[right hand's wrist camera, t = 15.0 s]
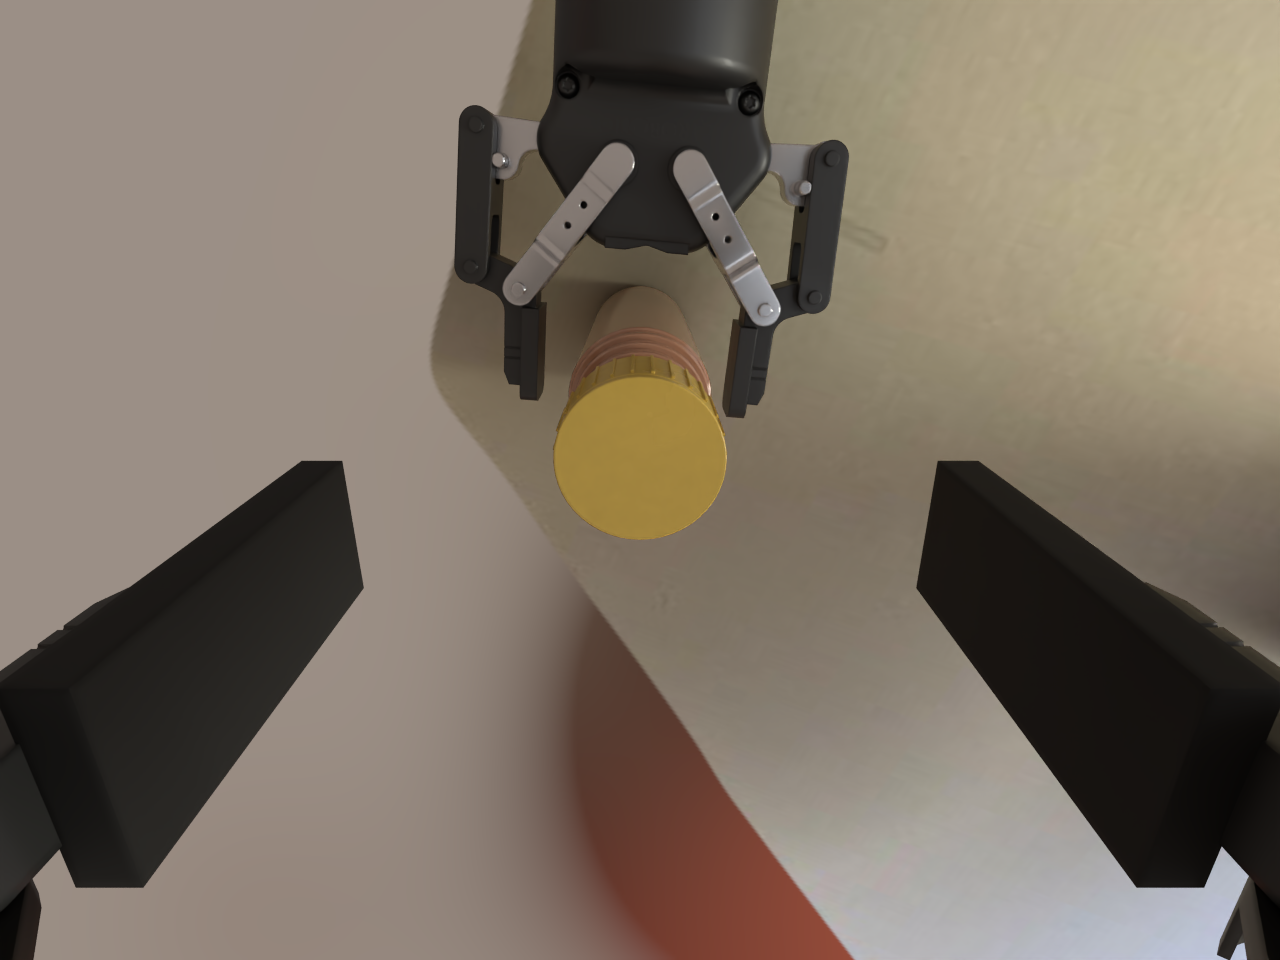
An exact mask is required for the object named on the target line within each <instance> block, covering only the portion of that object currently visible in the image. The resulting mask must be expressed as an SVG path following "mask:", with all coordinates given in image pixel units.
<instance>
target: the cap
mask: <svg viewBox="0 0 1280 960" xmlns="http://www.w3.org/2000/svg"><path fill="white" fill-rule="evenodd" d="M556 431H557V432H558V433H557V437H556V440H555V444H554V446H553V450H554V470H555V476H556V479H557V483H558V485H559V488H560V490H561V492H562V494H563V496H564V498H565V499H566V501H567V503H568V504H569V505H570V506H571V508H572V509H573V510H574V511H575V512H576V513H577V514H578V515H579V516H580V517H581V518H582V519H583V520H585V521H586V522H587V523H588V524H590V525H591V526H593V527H595V528H597V529H598V530H600V531H603V532H605V533H607V534H610V535H613V536H617V537H620V538H626V539H637V540H644V539H654V538H659V537H664V536H667V535H670V534H673V533H675V532H677V531H680V530H682V529H684V528H685V527H687V526H689V525H690V524H692V523H693V522H694V521H696V520H697V519H698V518H699V517H700V516H701V515H702V514H703V513H704V512H705V511H706V510H707V509H708V508H709V507H710V505H711V504H712V503H713V501H714V500H715V498H716V496H717V494H718V493H719V490H720V488H721V485H722V483H723V480H724V476H725V471H726V462H727V456H726V455H727V451H726V446H725V440H724V437H723V436H725V433H724V430H723V427H722V425H721V422H720V420H719V416H718V414H717V411H716V408H715V406H714V403H713V401H712V398H711V396H710V395H709V396H708V395H707V393H706V392H705V390H704V388H703V385H702V383H701V381H700V380H699V381H697V380H696V379H695V378H694V377H693V376H692V375H691V374H689V372H688V369H686V368H685V370H684V369H683V368H681V367H679V366H678V365H676V364H674V363H672V361H671V360H668V361H666V360H663V359H660V358H655V357H654V356H653V355H650V356H635V355H634V354H633V355H631V357H625V358H620V359H617V360H616V358H614V359H613V361H611V362H608V363H606V364H605V365H603V366H601V367H599V366H597V367H596V369H595V371H593V372H592V373H590V374H589V375H588V376H587V377H586V378H585V377H583V378H582V380H581V383H580V385H579V386H578V387H577V389H576V390H575V392H573V391H572V392H571V395H570V397H569V400H568V402H567V405H566V408H564V411H563V413H562V416H561V418H560V421H559V424H558V426H557V429H556Z"/></svg>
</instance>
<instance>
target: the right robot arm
mask: <svg viewBox="0 0 1280 960" xmlns="http://www.w3.org/2000/svg"><path fill="white" fill-rule="evenodd" d="M363 588H364V587H363V581H362V575H361V569H360V563H359V558H358V552H357V546H356V540H355V534H354V528H353V522H352V516H351V510H350V504H349V498H348V493H347V486H346V481H345V475H344V469H343V463H342V461H301V462H300V463H298V464H297V465H296V466H294V467H293V468H291V469H290V470H289V471H287V472H286V473H285V474H283V475H282V476H281V477H279V478H278V479H276V480H275V481H274V482H272V483H271V484H270V485H268V486H267V487H266V488H264V489H263V490H261V491H260V492H259V493H257V494H256V495H255V496H253V497H252V498H251V499H249V500H248V501H247V502H245V503H244V504H242V505H241V506H240V507H238V508H237V509H236V510H234V511H233V512H232V513H230V514H229V515H227V516H226V517H225V518H223V519H222V520H221V521H219V522H218V523H217V524H215V525H214V526H212V527H211V528H210V529H208V530H207V531H206V532H204V533H203V534H202V535H200V536H199V537H198V538H196V539H195V540H193V541H192V542H191V543H189V544H188V545H187V546H185V547H184V548H182V549H181V550H180V551H178V552H177V553H176V554H174V555H173V556H172V557H170V558H169V559H168V560H166V561H165V562H163V563H162V564H161V565H159V566H158V567H157V568H155V569H154V570H153V571H151V572H150V573H149V574H147V575H146V576H144V577H143V578H142V579H140V580H139V581H138V582H136V583H135V584H133V585H132V586H131V587H129V588H127V589H125V590H123V591H121V592H118V593H116V594H114V595H112V596H110V597H108V598H105V599H103V600H101V601H99V602H97V603H95V604H93V605H92V606H90V607H89V608H88V609H86V610H85V611H83V612H82V613H81V614H79V615H78V616H76V617H75V618H74V619H72V620H71V621H70V622H68V623H67V624H65V625H64V629H63V630H57V631H56V632H54V633H53V634H51V635H50V636H49V637H47V638H46V639H45V640H43V641H42V642H40V643H39V644H38V648H37V649H31V650H29V651H28V652H26V653H25V654H24V655H22V656H21V657H19V658H18V659H17V660H15V661H14V662H12V663H11V664H10V665H8V666H7V667H5V668H4V669H3V670H1V671H0V960H33V958H34V952H35V946H36V939H37V933H38V926H39V920H40V914H41V903H40V898H39V893H38V890H37V888H36V886H35V884H34V882H33V877H34V876H35V875H36V874H37V873H38V872H39V871H40V870H41V869H42V868H43V866H44V865H45V864H46V863H47V862H48V861H49V860H50V859H51V858H52V857H53V856H54V854H55V853H56V852H57V851H58V850H59V849H60V851H61V854H62V856H63V858H64V861H65V863H66V865H67V868H68V870H69V872H70V875H71V877H72V880H73V882H74V884H75V887H76V888H143V887H144V886H145V885H146V883H147V882H148V880H149V879H150V878H151V876H152V875H153V874H154V872H155V871H156V870H157V868H158V867H159V866H160V864H161V863H162V862H163V860H164V859H165V857H166V856H167V855H168V853H169V852H170V851H171V849H172V848H173V846H174V845H175V844H176V842H177V841H178V840H179V838H180V837H181V836H182V834H183V833H184V832H185V830H186V829H187V828H188V826H189V825H190V823H191V822H192V821H193V819H194V818H195V817H196V815H197V814H198V813H199V811H200V810H201V808H202V807H203V806H204V804H205V803H206V802H207V800H208V799H209V798H210V796H211V795H212V794H213V792H214V791H215V789H216V788H217V787H218V785H219V784H220V783H221V781H222V780H223V779H224V777H225V776H226V775H227V773H228V772H229V770H230V769H231V768H232V766H233V765H234V764H235V762H236V761H237V760H238V758H239V757H240V755H241V754H242V753H243V751H244V750H245V749H246V747H247V746H248V745H249V743H250V742H251V741H252V739H253V738H254V736H255V735H256V734H257V732H258V731H259V730H260V728H261V727H262V726H263V724H264V723H265V722H266V720H267V719H268V717H269V716H270V715H271V713H272V712H273V711H274V709H275V708H276V707H277V705H278V704H279V702H280V701H281V700H282V698H283V697H284V696H285V694H286V693H287V691H288V690H289V689H290V688H291V686H292V685H293V683H294V682H295V681H296V679H297V678H298V677H299V675H300V674H301V673H302V671H303V670H304V668H305V667H306V666H307V664H308V663H309V662H310V660H311V659H312V658H313V656H314V655H315V653H316V652H317V651H318V649H319V648H320V647H321V645H322V644H323V643H324V641H325V640H326V639H327V637H328V636H329V634H330V633H331V632H332V630H333V629H334V628H335V626H336V625H337V624H338V622H339V621H340V619H341V618H342V617H343V615H344V614H345V613H346V611H347V610H348V609H349V607H350V606H351V605H352V603H353V602H354V601H355V599H356V598H357V596H358V595H359V594H360V592H361V591H362V590H363ZM916 588H917V590H918V591H919V592H920V594H921V595H922V596H923V598H924V599H925V601H926V602H927V603H928V605H929V606H930V607H931V609H932V610H933V611H934V613H935V614H936V615H937V617H938V618H939V620H940V621H941V622H942V624H943V625H944V626H945V628H946V629H947V630H948V632H949V633H950V635H951V636H952V637H953V639H954V640H955V641H956V643H957V644H958V645H959V647H960V648H961V649H962V651H963V652H964V654H965V655H966V656H967V658H968V659H969V660H970V662H971V663H972V664H973V666H974V667H975V668H976V670H977V671H978V673H979V674H980V675H981V677H982V678H983V679H984V681H985V682H986V683H987V685H988V686H989V688H990V689H991V690H992V692H993V693H994V694H995V696H996V697H997V698H998V700H999V701H1000V702H1001V704H1002V705H1003V707H1004V708H1005V709H1006V711H1007V712H1008V713H1009V715H1010V716H1011V717H1012V719H1013V720H1014V722H1015V723H1016V724H1017V726H1018V727H1019V728H1020V730H1021V731H1022V732H1023V734H1024V735H1025V736H1026V738H1027V739H1028V741H1029V742H1030V743H1031V745H1032V746H1033V747H1034V749H1035V750H1036V751H1037V753H1038V754H1039V755H1040V757H1041V758H1042V760H1043V761H1044V762H1045V764H1046V765H1047V766H1048V768H1049V769H1050V770H1051V772H1052V773H1053V775H1054V776H1055V777H1056V779H1057V780H1058V781H1059V783H1060V784H1061V785H1062V787H1063V788H1064V789H1065V791H1066V792H1067V794H1068V795H1069V796H1070V798H1071V799H1072V800H1073V802H1074V803H1075V804H1076V806H1077V807H1078V808H1079V810H1080V811H1081V813H1082V814H1083V815H1084V817H1085V818H1086V819H1087V821H1088V822H1089V823H1090V825H1091V826H1092V828H1093V829H1094V830H1095V832H1096V833H1097V834H1098V836H1099V837H1100V838H1101V840H1102V841H1103V842H1104V844H1105V845H1106V847H1107V848H1108V849H1109V851H1110V852H1111V853H1112V855H1113V856H1114V857H1115V859H1116V860H1117V862H1118V863H1119V864H1120V866H1121V867H1122V868H1123V870H1124V871H1125V872H1126V874H1127V875H1128V876H1129V878H1130V879H1131V881H1132V882H1133V883H1134V885H1135V886H1136V887H1137V888H1204V887H1205V884H1206V882H1207V880H1208V877H1209V875H1210V873H1211V870H1212V868H1213V865H1214V863H1215V861H1216V858H1217V856H1218V854H1219V851H1220V849H1221V847H1223V848H1224V849H1225V850H1226V851H1227V853H1228V854H1229V855H1230V856H1231V857H1232V858H1233V859H1234V860H1235V861H1236V862H1237V863H1238V865H1239V866H1240V867H1241V868H1242V869H1243V870H1244V871H1245V872H1246V873H1247V874H1248V875H1249V877H1248V879H1247V882H1246V884H1245V886H1244V888H1243V890H1242V893H1241V895H1240V897H1239V899H1238V901H1237V904H1236V906H1235V908H1234V910H1233V913H1232V915H1231V917H1230V919H1229V921H1228V924H1227V926H1226V928H1225V930H1224V932H1223V935H1222V937H1221V939H1220V943H1219V947H1218V952H1217V955H1218V956H1221V957H1223V958H1225V959H1228V960H1230V959H1231V957H1232V955H1233V953H1234V950H1235V948H1236V946H1237V945H1238V944H1241V943H1245V949H1246V956H1247V960H1280V667H1278V666H1277V665H1276V664H1274V663H1273V662H1271V661H1270V660H1269V659H1267V658H1266V657H1264V656H1263V655H1262V654H1260V653H1259V652H1257V651H1256V650H1254V649H1253V648H1252V647H1250V646H1244V645H1243V641H1242V640H1240V639H1239V638H1238V637H1236V636H1235V635H1233V634H1232V633H1231V632H1229V631H1228V630H1226V629H1225V628H1224V627H1218V626H1217V622H1215V621H1214V620H1212V619H1211V618H1210V617H1208V616H1207V615H1205V614H1204V613H1202V612H1201V611H1200V610H1198V609H1197V608H1195V607H1194V606H1193V605H1191V604H1190V603H1188V602H1187V601H1185V600H1183V599H1181V598H1179V597H1176V596H1174V595H1172V594H1170V593H1168V592H1166V591H1164V590H1161V589H1159V588H1157V587H1155V586H1153V585H1151V584H1148V583H1144V582H1142V581H1141V580H1140V579H1138V578H1137V577H1136V576H1134V575H1133V574H1132V573H1130V572H1129V571H1127V570H1126V569H1125V568H1123V567H1122V566H1121V565H1119V564H1118V563H1117V562H1115V561H1114V560H1112V559H1111V558H1110V557H1108V556H1107V555H1106V554H1104V553H1103V552H1102V551H1100V550H1099V549H1098V548H1096V547H1095V546H1093V545H1092V544H1091V543H1089V542H1088V541H1087V540H1085V539H1084V538H1083V537H1081V536H1080V535H1078V534H1077V533H1076V532H1074V531H1073V530H1072V529H1070V528H1069V527H1068V526H1066V525H1065V524H1063V523H1062V522H1061V521H1059V520H1058V519H1057V518H1055V517H1054V516H1053V515H1051V514H1050V513H1048V512H1047V511H1046V510H1044V509H1043V508H1042V507H1040V506H1039V505H1038V504H1036V503H1035V502H1034V501H1032V500H1031V499H1029V498H1028V497H1027V496H1025V495H1024V494H1023V493H1021V492H1020V491H1019V490H1017V489H1016V488H1014V487H1013V486H1012V485H1010V484H1009V483H1008V482H1006V481H1005V480H1004V479H1002V478H1001V477H999V476H998V475H997V474H995V473H994V472H993V471H991V470H990V469H989V468H987V467H986V466H985V465H983V464H982V463H980V462H979V461H938V463H937V469H936V475H935V481H934V486H933V492H932V498H931V504H930V510H929V516H928V522H927V528H926V534H925V540H924V546H923V551H922V557H921V563H920V569H919V575H918V581H917V587H916Z"/></svg>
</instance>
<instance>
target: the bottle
mask: <svg viewBox="0 0 1280 960" xmlns="http://www.w3.org/2000/svg"><path fill="white" fill-rule="evenodd" d="M633 354H634V355H635V356H650V355H653V356H654V357H655V358H660V359H663V360H666V361H668V360H671V361H672V363H674V364H676V365H678V366H679V367H681V368H683V369H684V370H685V368H686V369H688V372H689V374H691V375H692V376H693V377H694V378H695V379H696V380H697V381H699V380H700V381H701V383H702V385H703V388H704V390H705V392H706V393H707V395H708V396H709V395H710V396H711V385H710V380H709V377H708V374H707V371H706V368H705V366H704V364H703V361H702V359H701V356H700V354H699V352H698V349H697V347H696V345H695V342H694V340H693V337H692V335H691V333H690V330H689V328H688V325H687V323H686V321H685V318H684V316H683V314H682V312H681V310H680V308H679V307H678V305H677V304H676V303H675V302H674V300H673V299H672V298H670V297H669V296H668V295H667V294H665V293H664V292H662V291H660V290H658V289H655V288H651V287H646V286H634V287H629V288H626V289H623V290H620V291H619V292H617V293H615V294H614V295H612V296H611V297H610V298H609V299H608V300H607V301H606V302H605V303H604V304H603V305H602V307H601V308H600V310H599V312H598V314H597V316H596V319H595V321H594V324H593V326H592V328H591V331H590V333H589V335H588V338H587V340H586V343H585V345H584V347H583V350H582V352H581V355H580V357H579V359H578V362H577V364H576V366H575V369H574V371H573V374H572V377H571V381H570V386H569V397H570V395H571V392H572V391H573V392H575V390H576V389H577V387H578V386H579V385H580V383H581V380H582V378H583V377H585V378H586V377H587V376H588V375H589V374H590V373H592V372H593V371H595V369H596V367H597V366H599V367H601V366H603V365H605V364H606V363H608V362H611V361H613V359H614V358H616V360H617V359H620V358H625V357H631V355H633ZM711 398H712V397H711Z"/></svg>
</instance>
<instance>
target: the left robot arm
mask: <svg viewBox="0 0 1280 960" xmlns="http://www.w3.org/2000/svg"><path fill="white" fill-rule="evenodd" d="M777 4H778V0H556V7H555V38H554V69H553V90H552V96H551V99H550V103H549V106H548V108H547V110H546V112H545V114H544V116H543V118H542V119H541V121H540V122H538V121H531V120H524V119H517V118H511V117H504V116H497V115H494V114H492V113H491V112H489V111H488V110H486V109H485V108H483V107H481V106H477V105H472V106H469V107H467V108H465V109H464V110H463V112H462V113H461V115H460V118H459V138H458V168H457V200H456V232H455V264H454V265H455V271H456V274H457V275H458V277H459V278H460V279H461V280H463V281H464V282H466V283H470V284H476V285H478V286H481V287H483V288H485V289H487V290H489V291H491V292H493V293H495V294H496V295H497V296H498V297H499V298H500V299H501V301H502V303H503V305H504V309H505V339H504V345H505V348H504V356H505V357H504V372H505V375H506V378H507V380H508V383H509V384H514V385H520V399H524V400H536V401H538V400H539V398H540V396H541V394H542V392H543V387H544V366H545V335H546V305H547V302H541V291H542V290H543V288H544V287H545V286H546V285H547V283H548V282H549V281H550V280H551V278H552V277H553V276H554V275H555V273H556V272H557V271H558V270H559V268H560V267H561V266H562V265H563V263H564V262H565V261H566V260H567V259H568V258H569V256H570V255H571V254H572V253H573V252H574V250H575V249H576V248H577V247H578V245H579V244H580V243H581V242H582V240H583V239H584V238H585V237H586V235H587V234H588V235H589V236H590V237H591V238H592V239H593V240H595V241H596V242H598V243H600V244H602V245H604V246H605V248H615V249H630V248H635V247H640V246H650V247H653V248H655V249H658V250H661V251H663V252H666V253H672V254H683V255H688V253H690V252H694V251H697V250H699V249H701V248H703V247H704V246H705V245H706V247H707V249H708V251H709V253H710V254H711V256H712V258H713V260H714V262H715V263H716V265H717V267H718V268H719V270H720V272H721V273H722V275H723V276H724V278H725V280H726V282H727V284H728V285H729V287H730V289H731V291H732V293H733V295H734V296H735V298H736V300H737V302H738V304H739V305H740V314H739V320H737V319H733V323H732V331H731V338H730V346H729V354H728V361H727V369H726V376H725V384H724V392H723V410H724V412H725V414H726V417H736V418H744V416H745V413H746V407H747V404H749V405H758V403H759V401H760V400H761V398H762V396H763V394H764V390H765V383H766V377H767V369H768V364H769V357H770V351H771V344H772V338H773V333H774V330H775V328H776V327H777V326H778V324H779V323H780V322H782V321H783V320H785V319H787V318H790V317H794V316H798V315H801V314H805V313H810V314H816V313H819V312H821V311H823V310H824V309H825V308H826V307H827V305H828V304H829V301H830V296H831V288H832V281H833V273H834V266H835V258H836V251H837V243H838V236H839V228H840V221H841V213H842V206H843V198H844V191H845V183H846V175H847V168H848V160H849V153H848V150H847V148H846V146H845V145H844V144H843V143H842V142H840V141H838V140H829V141H824V142H821V143H818V144H816V145H801V144H775V143H770V140H769V137H768V135H767V132H766V128H765V123H764V102H765V94H766V87H767V79H768V71H769V64H770V56H771V49H772V41H773V34H774V26H775V19H776V11H777ZM537 151H538V152H539V154H540V157H541V159H542V160H543V162H544V164H545V165H546V167H547V169H548V170H549V172H550V174H551V175H552V177H553V179H554V180H555V182H556V184H557V185H558V187H559V189H560V190H561V192H562V194H563V196H564V197H565V201H564V202H563V203H562V204H561V206H560V207H559V208H558V210H557V211H556V212H555V213H554V215H553V216H552V217H551V219H550V220H549V221H548V222H547V224H546V225H545V226H544V228H543V229H542V230H541V231H540V233H539V234H538V236H537V237H536V239H535V240H534V242H533V244H532V245H531V246H530V248H529V249H528V250H527V252H526V253H525V254H524V255H523V257H522V258H521V259H520V261H519V262H518V263H516V262H514V261H512V260H509V259H507V258H505V257H503V256H501V255H500V242H501V223H502V205H503V187H504V180H512V179H514V178H516V177H517V176H518V175H519V174H520V172H521V170H522V165H523V162H524V160H525V158H526V157H527V156H528V155H529V154H531V153H532V152H537ZM767 173H771V174H772V175H774V176H775V177H776V178H777V180H778V182H779V185H780V195H781V198H782V200H783V201H784V202H785V203H786V204H788V205H790V206H795V211H794V221H793V230H792V239H791V248H790V257H789V266H788V275H787V281H784V282H780V283H776V284H773V285H770V284H769V282H768V280H767V278H766V276H765V275H764V273H763V271H762V269H761V267H760V265H759V263H758V260H757V257H756V255H755V253H754V251H753V249H752V247H751V245H750V243H749V241H748V239H747V237H746V235H745V234H744V232H743V230H742V228H741V226H740V224H739V222H738V220H737V218H736V217H735V215H734V213H735V212H736V211H737V209H738V208H739V207H740V206H741V205H742V203H743V202H744V201H745V200H746V199H747V198H748V196H749V195H750V194H751V193H752V192H753V191H754V189H755V188H756V187H757V186H758V185H759V183H760V182H761V181H762V180H763V179H764V177H765V176H766V174H767Z"/></svg>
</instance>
